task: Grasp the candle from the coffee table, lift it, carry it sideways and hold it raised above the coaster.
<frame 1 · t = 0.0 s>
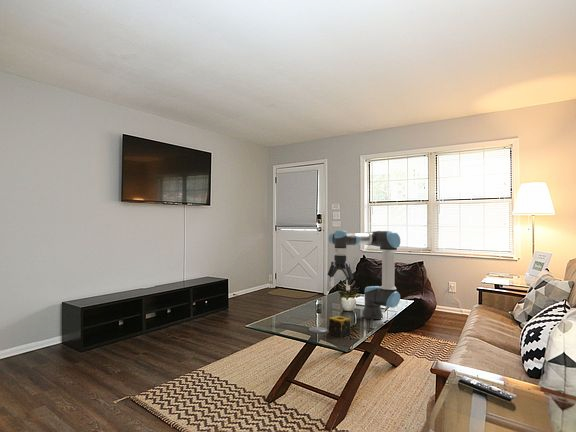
hand: (339, 288, 215), 28 cm above the table, fingers open, 13 cm apart
candle: (339, 334, 213), on the table
coaster: (318, 330, 220), on the table
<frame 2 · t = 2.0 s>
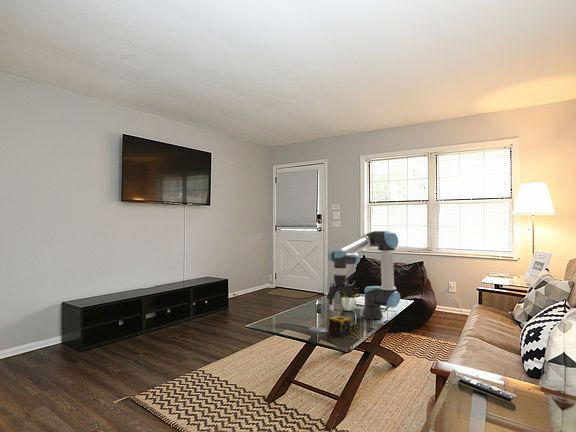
hand: (339, 308, 213), 16 cm above the table, fingers open, 13 cm apart
nothing on the table moved.
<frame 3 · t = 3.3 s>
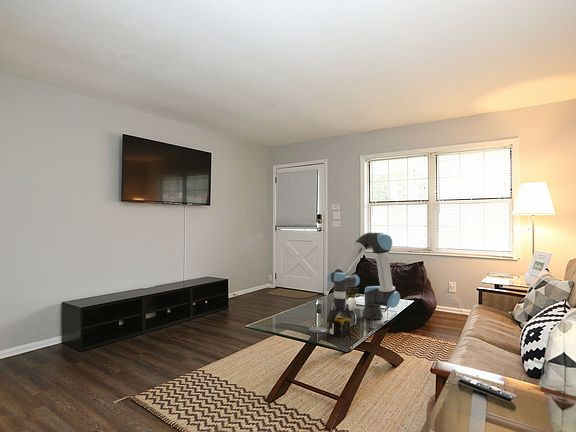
hand: (339, 331, 213), 1 cm above the table, fingers open, 13 cm apart
nothing on the table moved.
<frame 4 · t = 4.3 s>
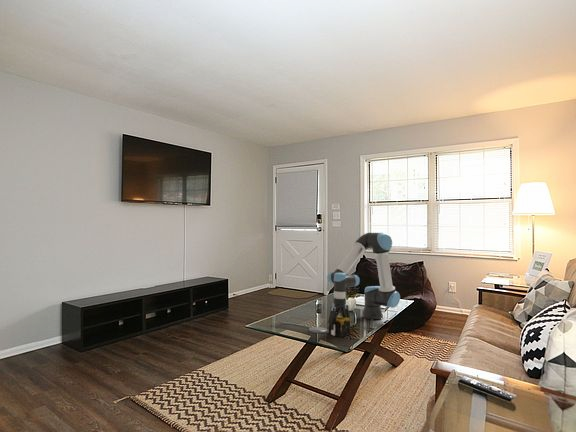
hand: (339, 333, 213), 0 cm above the table, fingers closed on candle, 10 cm apart
candle: (339, 334, 213), on the table, touching gripper
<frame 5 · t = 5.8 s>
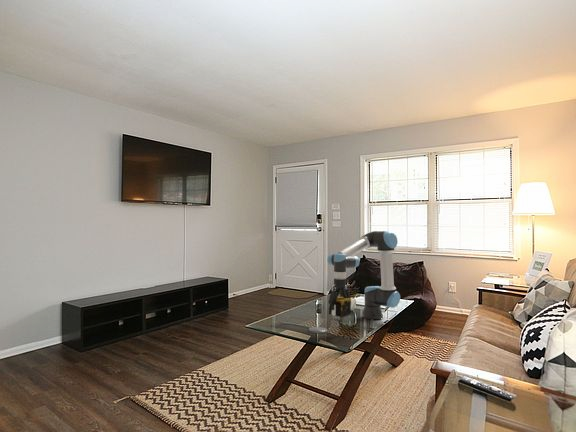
hand: (339, 313, 214), 13 cm above the table, fingers closed on candle, 10 cm apart
candle: (339, 314, 214), point 12 cm above the table, touching gripper
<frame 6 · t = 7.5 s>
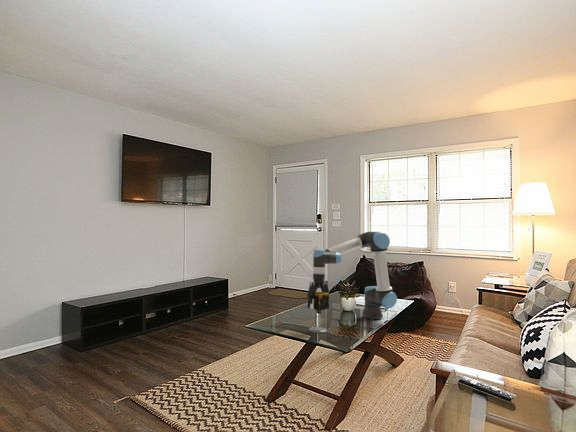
hand: (318, 307, 220), 15 cm above the table, fingers closed on candle, 10 cm apart
candle: (318, 308, 220), point 14 cm above the table, touching gripper
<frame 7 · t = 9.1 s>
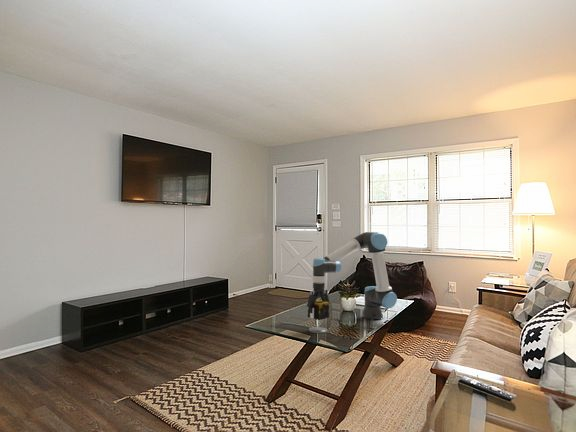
hand: (318, 316, 220), 9 cm above the table, fingers closed on candle, 10 cm apart
candle: (318, 317, 220), point 8 cm above the table, touching gripper
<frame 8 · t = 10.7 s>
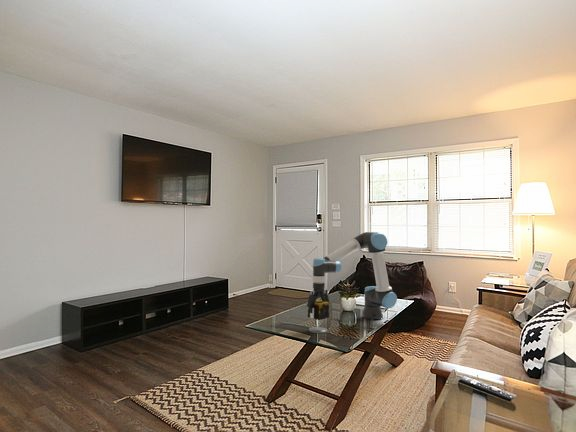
hand: (318, 316, 220), 9 cm above the table, fingers closed on candle, 10 cm apart
candle: (318, 317, 220), point 8 cm above the table, touching gripper
at the end: the gripper is holding candle; candle point 8.1 cm above the table; candle 0.1 cm from the coaster (horizontally) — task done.
